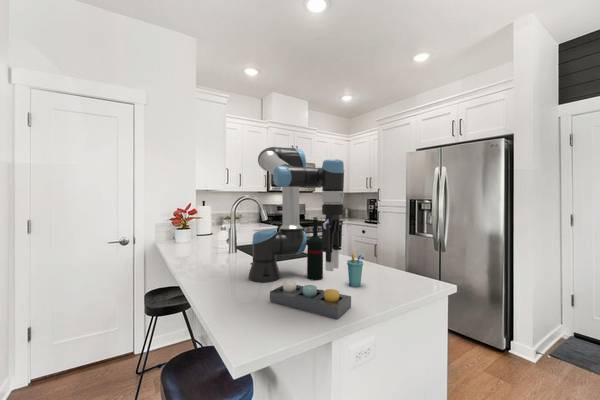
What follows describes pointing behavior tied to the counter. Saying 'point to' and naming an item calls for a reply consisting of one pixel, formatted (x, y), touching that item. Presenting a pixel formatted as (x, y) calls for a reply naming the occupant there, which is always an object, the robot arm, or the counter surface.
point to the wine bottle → (315, 254)
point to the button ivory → (289, 286)
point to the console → (311, 302)
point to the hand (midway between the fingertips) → (332, 269)
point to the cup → (355, 271)
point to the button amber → (331, 295)
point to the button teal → (310, 291)
